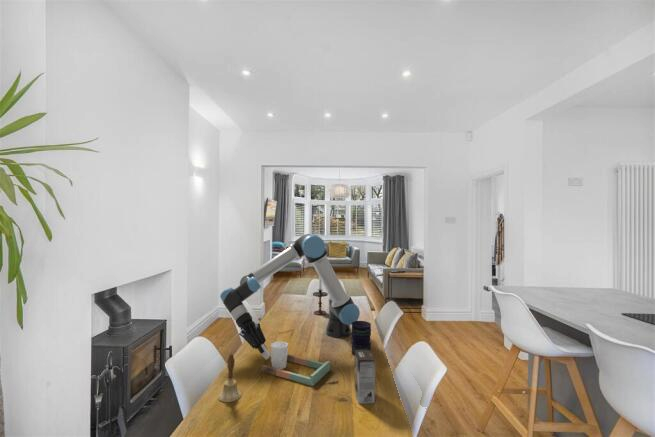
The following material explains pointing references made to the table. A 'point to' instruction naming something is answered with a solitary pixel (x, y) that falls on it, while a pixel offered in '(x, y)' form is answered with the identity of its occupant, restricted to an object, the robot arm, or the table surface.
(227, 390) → the hand bell
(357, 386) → the coffee box
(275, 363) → the white cup
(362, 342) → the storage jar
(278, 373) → the walls
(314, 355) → the table surface
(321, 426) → the table surface
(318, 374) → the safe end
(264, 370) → the lane walls
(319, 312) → the candlestick
